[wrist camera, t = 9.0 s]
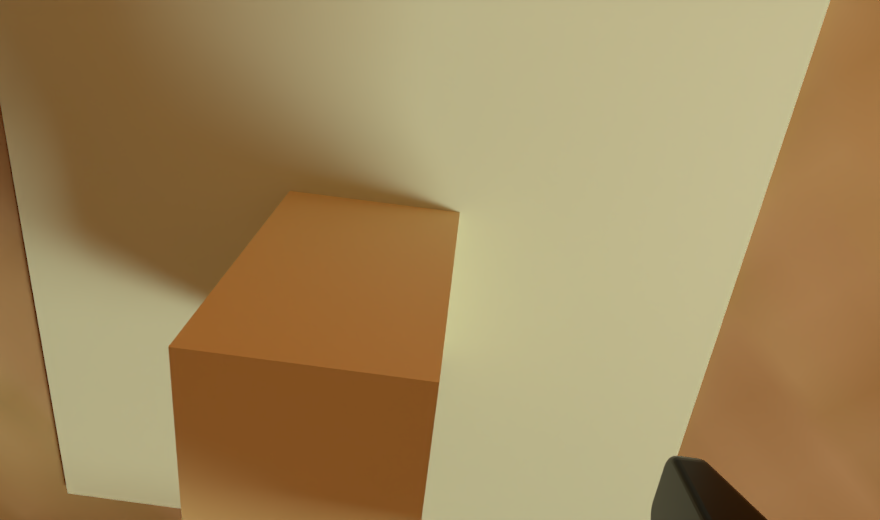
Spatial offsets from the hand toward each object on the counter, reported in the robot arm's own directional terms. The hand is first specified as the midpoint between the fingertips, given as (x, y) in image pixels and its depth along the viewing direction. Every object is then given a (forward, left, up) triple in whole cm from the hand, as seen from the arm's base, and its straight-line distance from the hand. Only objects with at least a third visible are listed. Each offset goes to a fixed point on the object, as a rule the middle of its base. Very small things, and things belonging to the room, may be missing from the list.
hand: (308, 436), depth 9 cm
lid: (0, 0, -5) cm, 5 cm away
